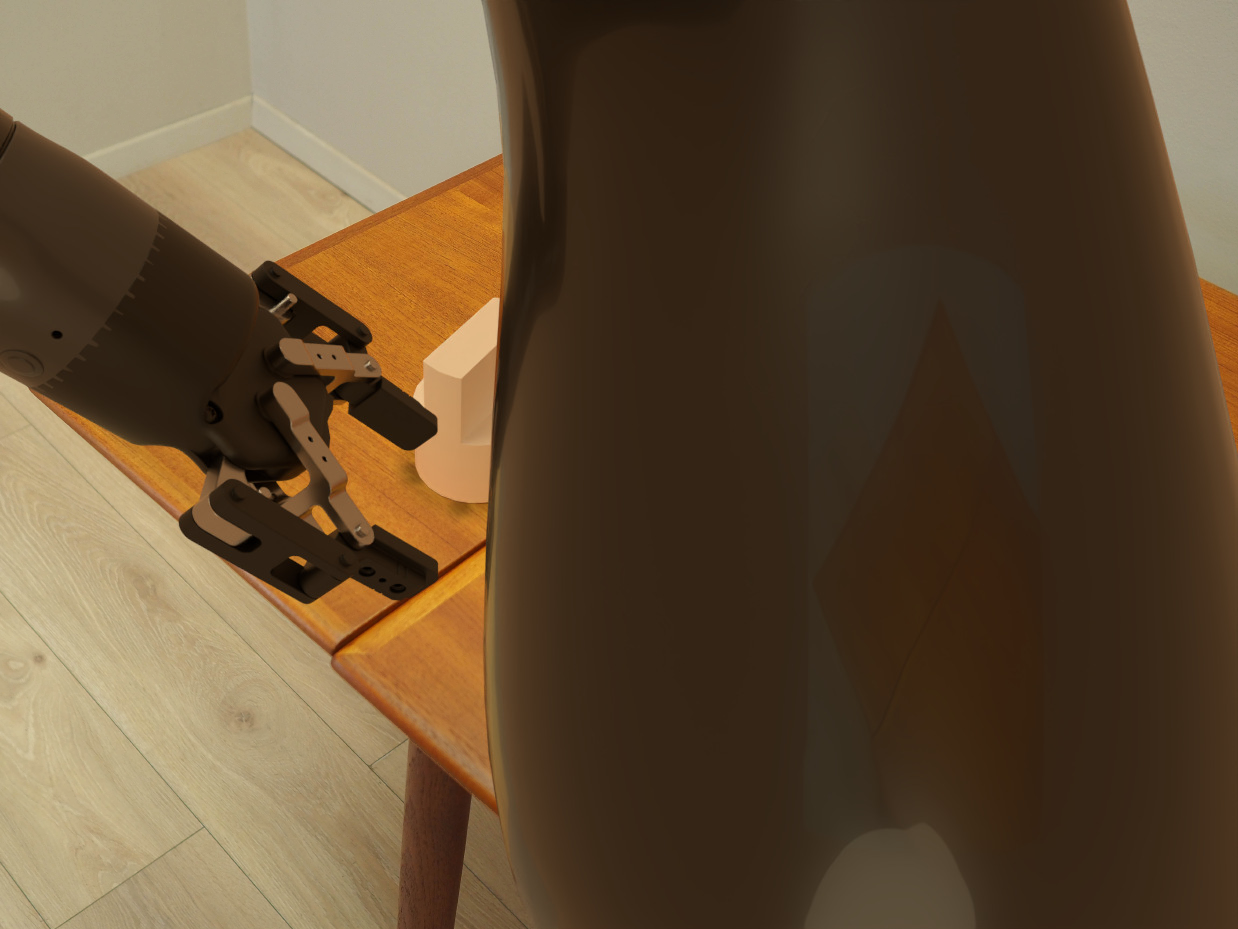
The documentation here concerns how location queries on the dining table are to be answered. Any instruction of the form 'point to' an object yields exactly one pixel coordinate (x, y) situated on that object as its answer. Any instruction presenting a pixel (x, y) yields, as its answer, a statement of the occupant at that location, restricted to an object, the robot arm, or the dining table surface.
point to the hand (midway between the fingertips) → (424, 504)
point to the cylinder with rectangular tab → (460, 409)
